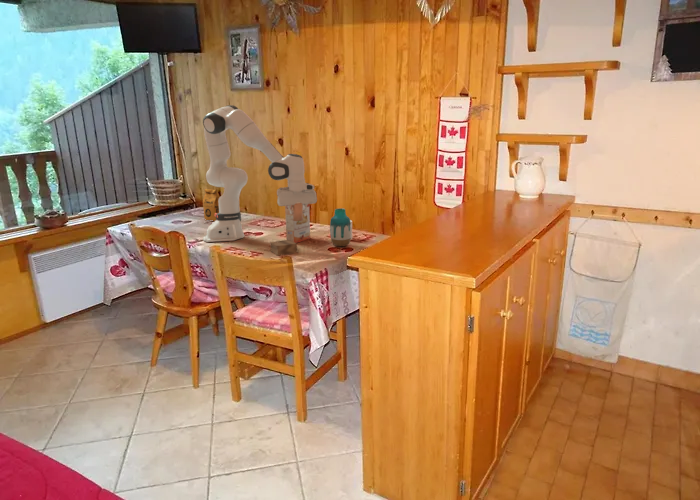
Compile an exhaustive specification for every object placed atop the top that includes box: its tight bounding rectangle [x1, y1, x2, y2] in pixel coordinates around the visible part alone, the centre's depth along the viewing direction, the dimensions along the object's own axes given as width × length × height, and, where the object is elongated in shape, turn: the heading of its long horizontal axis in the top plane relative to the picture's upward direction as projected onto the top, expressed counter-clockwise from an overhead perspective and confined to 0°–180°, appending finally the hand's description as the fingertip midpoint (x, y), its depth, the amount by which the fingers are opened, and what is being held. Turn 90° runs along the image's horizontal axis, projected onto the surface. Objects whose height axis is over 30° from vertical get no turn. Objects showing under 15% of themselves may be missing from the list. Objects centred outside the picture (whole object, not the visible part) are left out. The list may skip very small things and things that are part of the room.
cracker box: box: [284, 204, 311, 244], centre depth 274 cm, size 14×6×21 cm, turn 147°
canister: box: [292, 202, 303, 221], centre depth 262 cm, size 5×5×10 cm
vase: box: [329, 207, 351, 247], centre depth 261 cm, size 11×11×19 cm
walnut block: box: [269, 239, 298, 256], centre depth 253 cm, size 10×10×5 cm
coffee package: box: [202, 188, 220, 221], centre depth 330 cm, size 10×12×22 cm
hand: (297, 213), depth 262 cm, fingers closed on canister, 5 cm apart
